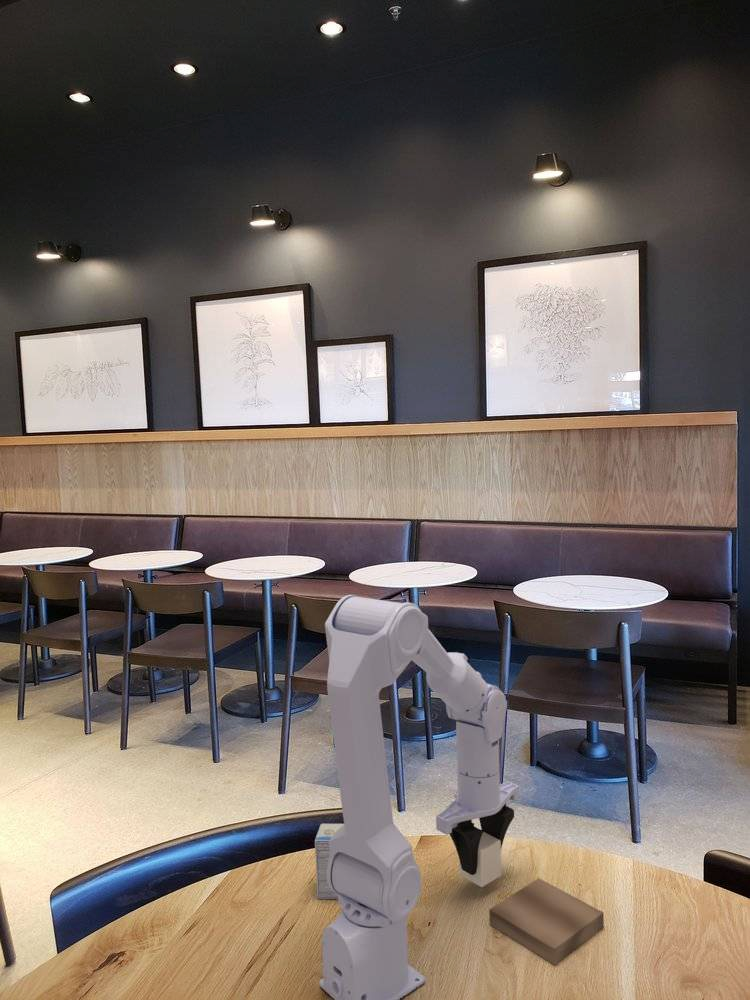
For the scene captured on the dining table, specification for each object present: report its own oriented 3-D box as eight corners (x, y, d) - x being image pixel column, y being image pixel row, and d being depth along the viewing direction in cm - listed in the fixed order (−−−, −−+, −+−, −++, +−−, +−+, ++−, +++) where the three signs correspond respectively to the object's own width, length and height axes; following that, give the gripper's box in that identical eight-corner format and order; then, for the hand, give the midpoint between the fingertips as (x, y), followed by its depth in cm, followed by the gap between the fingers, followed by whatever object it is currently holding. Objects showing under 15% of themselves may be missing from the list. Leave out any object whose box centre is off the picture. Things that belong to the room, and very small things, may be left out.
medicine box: (377, 882, 104) (375, 823, 103) (374, 902, 99) (372, 840, 98) (322, 881, 104) (319, 822, 104) (316, 900, 100) (314, 838, 99)
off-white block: (481, 887, 98) (480, 851, 98) (459, 874, 101) (458, 839, 101) (501, 875, 101) (500, 840, 100) (479, 863, 104) (478, 829, 104)
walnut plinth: (554, 965, 86) (554, 949, 86) (489, 924, 94) (489, 909, 93) (603, 927, 92) (603, 912, 92) (539, 892, 100) (538, 878, 100)
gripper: (491, 745, 108) (493, 834, 109) (419, 775, 99) (421, 873, 100) (529, 760, 102) (531, 854, 103) (457, 793, 93) (459, 896, 94)
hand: (480, 864), depth 101 cm, fingers closed on off-white block, 4 cm apart
